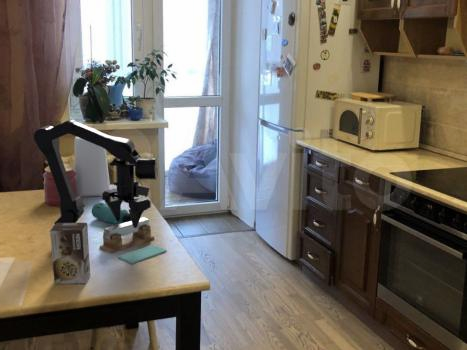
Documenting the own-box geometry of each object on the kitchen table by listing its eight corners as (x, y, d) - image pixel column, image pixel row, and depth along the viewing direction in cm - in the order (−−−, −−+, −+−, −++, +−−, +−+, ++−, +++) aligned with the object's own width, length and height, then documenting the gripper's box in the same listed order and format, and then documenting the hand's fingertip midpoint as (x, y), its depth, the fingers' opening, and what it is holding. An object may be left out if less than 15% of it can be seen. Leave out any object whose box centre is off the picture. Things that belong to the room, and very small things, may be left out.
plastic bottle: (109, 196, 240) (107, 131, 233) (73, 198, 237) (69, 132, 230) (110, 187, 255) (107, 125, 248) (75, 188, 252) (72, 126, 245)
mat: (132, 264, 172) (132, 262, 171) (118, 257, 176) (118, 256, 176) (166, 251, 182) (166, 250, 182) (152, 245, 186) (152, 244, 186)
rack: (110, 253, 179) (110, 238, 178) (99, 248, 183) (99, 233, 182) (154, 239, 192) (154, 224, 191) (143, 234, 196) (142, 220, 195)
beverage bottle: (96, 220, 214) (132, 232, 202) (85, 212, 209) (121, 224, 197) (104, 205, 216) (140, 216, 204) (93, 197, 211) (130, 208, 199)
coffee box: (91, 274, 164) (88, 222, 160) (86, 284, 158) (83, 229, 154) (59, 274, 163) (55, 221, 159) (53, 284, 157) (49, 229, 153)
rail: (110, 239, 180) (109, 230, 179) (104, 237, 182) (104, 228, 181) (149, 227, 192) (148, 219, 191) (143, 225, 194) (143, 217, 193)
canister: (45, 198, 236) (42, 157, 232) (77, 196, 240) (74, 155, 235) (44, 207, 224) (41, 164, 220) (78, 205, 228) (76, 162, 223)
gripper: (163, 179, 182) (163, 225, 186) (127, 169, 194) (128, 212, 198) (135, 186, 174) (137, 233, 178) (100, 175, 186) (102, 219, 190)
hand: (126, 224), depth 186 cm, fingers open, 9 cm apart
